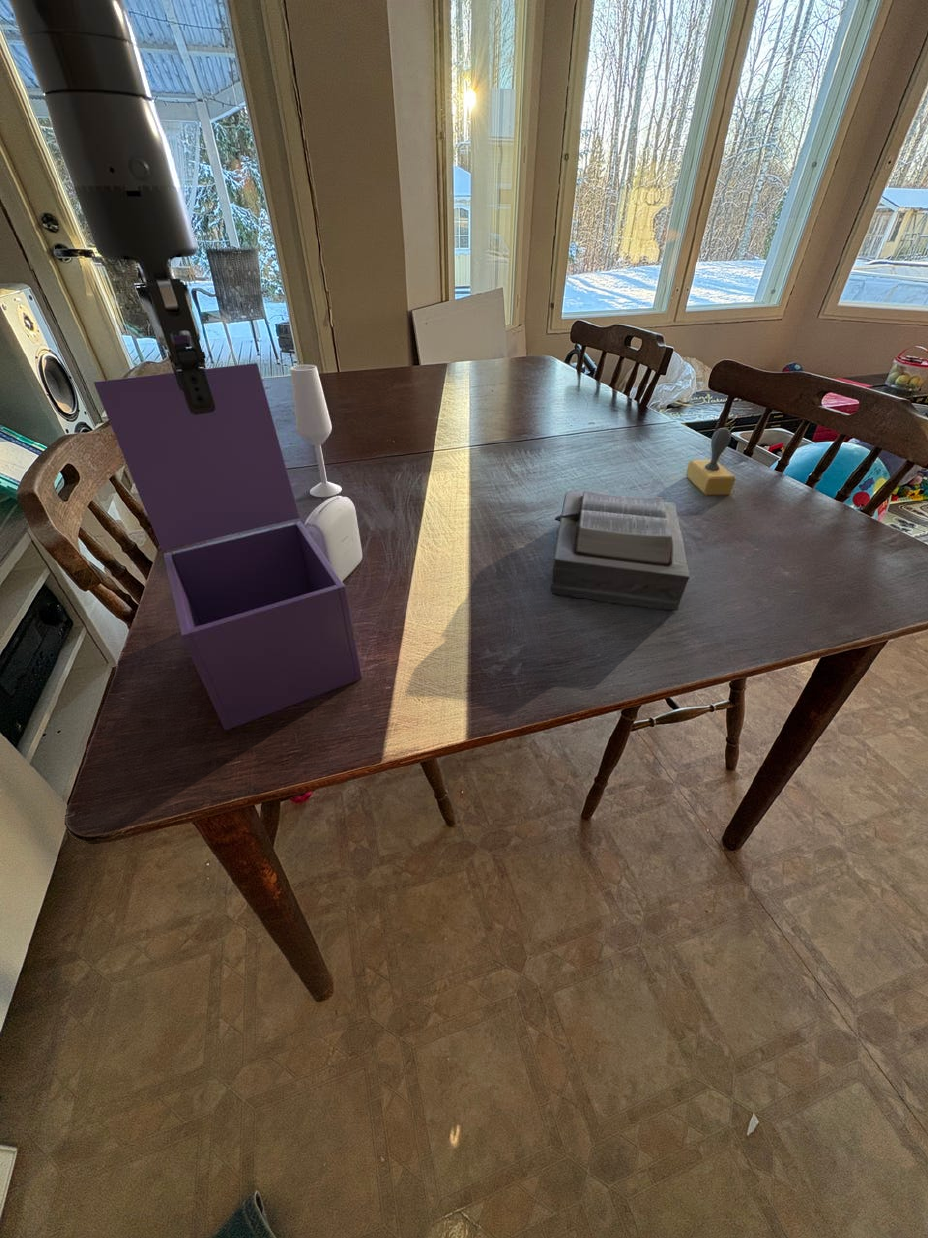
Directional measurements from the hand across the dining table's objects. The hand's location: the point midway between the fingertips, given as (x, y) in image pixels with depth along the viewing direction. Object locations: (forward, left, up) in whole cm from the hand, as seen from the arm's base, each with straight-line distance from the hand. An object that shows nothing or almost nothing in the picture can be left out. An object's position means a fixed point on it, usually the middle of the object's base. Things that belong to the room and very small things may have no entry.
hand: (197, 400), depth 50 cm
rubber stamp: (+94, +6, -32) cm, 99 cm away
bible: (+55, -7, -32) cm, 64 cm away
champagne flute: (+22, +45, -32) cm, 59 cm away
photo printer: (+14, +13, -32) cm, 37 cm away
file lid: (0, +8, -8) cm, 11 cm away
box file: (0, -3, -32) cm, 32 cm away
